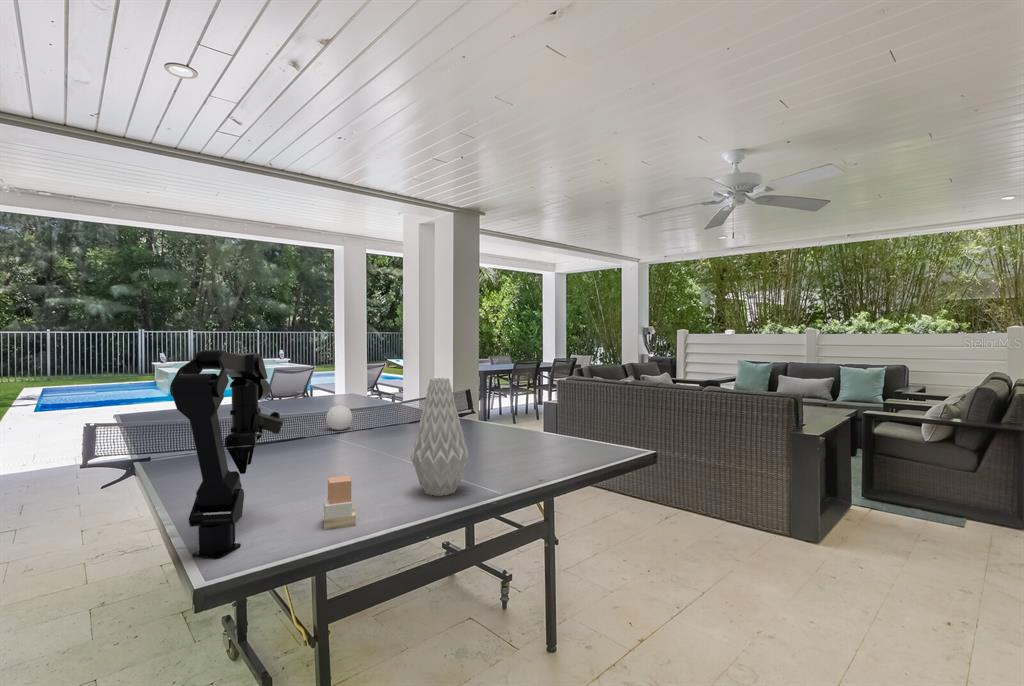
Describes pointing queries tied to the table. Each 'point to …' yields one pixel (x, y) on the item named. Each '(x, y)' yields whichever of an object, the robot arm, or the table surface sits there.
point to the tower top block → (337, 509)
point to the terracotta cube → (339, 489)
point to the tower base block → (340, 521)
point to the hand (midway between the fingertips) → (245, 468)
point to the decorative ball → (339, 417)
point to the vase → (439, 441)
